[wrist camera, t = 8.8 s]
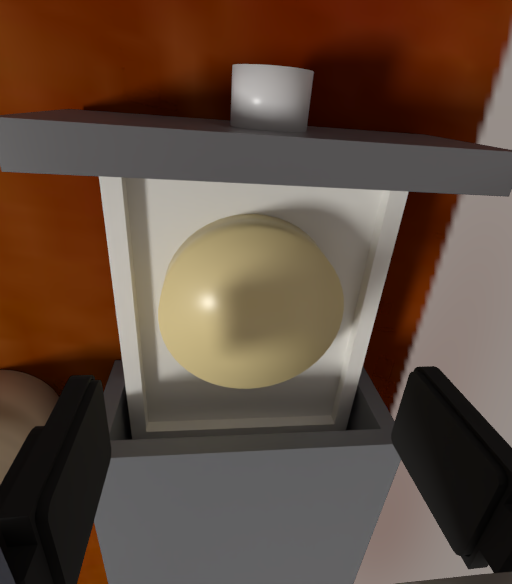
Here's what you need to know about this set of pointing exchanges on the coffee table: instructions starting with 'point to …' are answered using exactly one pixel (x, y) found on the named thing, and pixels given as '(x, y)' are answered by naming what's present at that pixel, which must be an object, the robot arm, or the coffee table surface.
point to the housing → (244, 500)
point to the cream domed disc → (249, 302)
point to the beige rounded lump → (21, 412)
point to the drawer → (235, 201)
